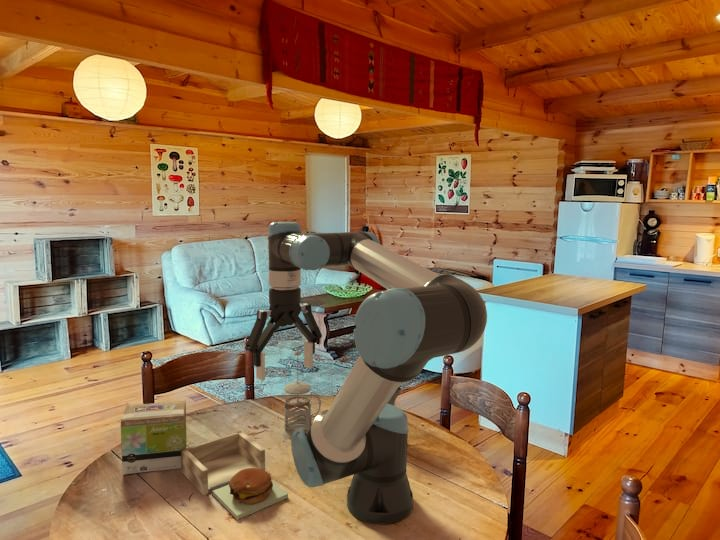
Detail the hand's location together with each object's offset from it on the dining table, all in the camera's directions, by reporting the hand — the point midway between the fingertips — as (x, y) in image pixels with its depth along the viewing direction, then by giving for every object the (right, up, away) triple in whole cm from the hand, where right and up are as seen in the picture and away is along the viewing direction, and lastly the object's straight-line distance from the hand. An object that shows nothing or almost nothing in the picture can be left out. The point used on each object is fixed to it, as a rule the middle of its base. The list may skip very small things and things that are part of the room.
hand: (285, 372), depth 125 cm
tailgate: (-8, -28, -5) cm, 29 cm away
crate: (-16, -26, +5) cm, 31 cm away
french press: (+1, -23, +27) cm, 36 cm away
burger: (-7, -27, -6) cm, 28 cm away
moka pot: (+23, -24, +24) cm, 41 cm away
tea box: (-35, -25, +9) cm, 44 cm away
